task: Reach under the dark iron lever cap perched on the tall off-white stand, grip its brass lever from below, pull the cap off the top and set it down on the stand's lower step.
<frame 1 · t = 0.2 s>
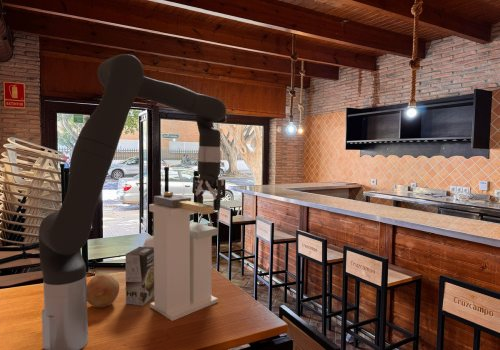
hand: (207, 208, 115), 29 cm above the table, tool pointing down, fingers open, 8 cm apart
onion: (102, 306, 106), on the table
stepped stand: (184, 304, 107), on the table
coffee box: (141, 299, 111), on the table
smoothie: (154, 282, 124), on the table
lever cap: (176, 206, 100), point 32 cm above the table, touching stepped stand
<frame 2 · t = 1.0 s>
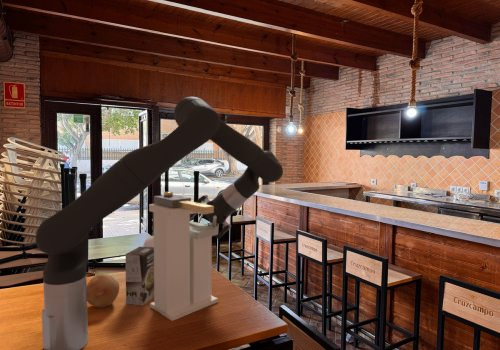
hand: (195, 230, 114), 22 cm above the table, tool tilted 50°, fingers open, 8 cm apart
nothing on the table moved.
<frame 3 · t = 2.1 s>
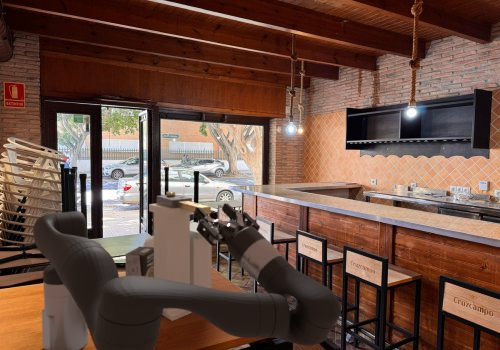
hand: (210, 208, 79), 35 cm above the table, tool pointing upward, fingers open, 8 cm apart
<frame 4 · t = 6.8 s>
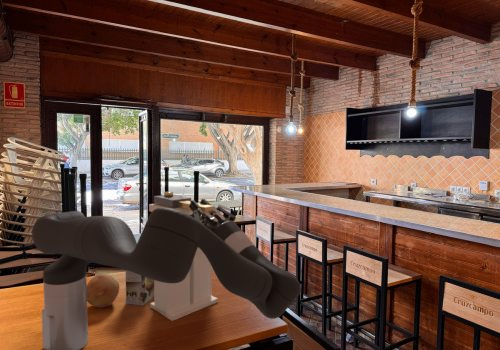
hand: (196, 202, 94), 34 cm above the table, tool pointing upward, fingers closed on lever cap, 3 cm apart
lever cap: (177, 206, 100), point 32 cm above the table, touching gripper, stepped stand
everything else where it was.
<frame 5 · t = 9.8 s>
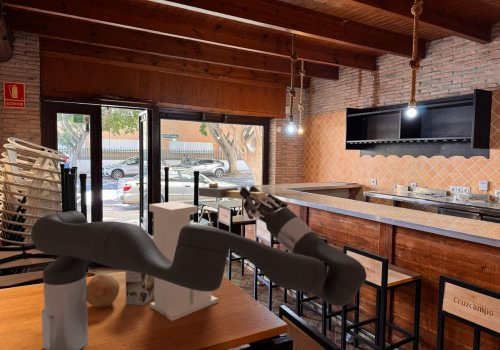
hand: (246, 189, 91), 38 cm above the table, tool pointing upward, fingers closed on lever cap, 3 cm apart
lever cap: (223, 196, 98), point 35 cm above the table, touching gripper
everything else where it was.
when the fingers open (28 cm above the table, at t = 13.0 s): lever cap drops 1 cm, resting on stepped stand.
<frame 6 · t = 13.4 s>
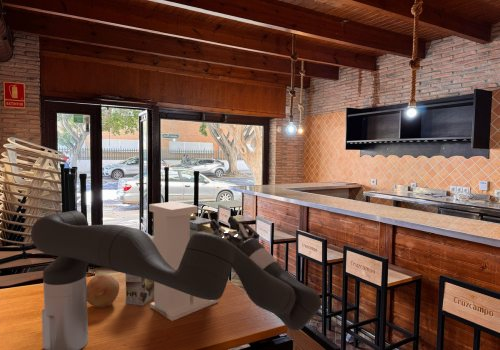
hand: (220, 220, 100), 28 cm above the table, tool pointing upward, fingers open, 6 cm apart
lever cap: (200, 228, 107), point 24 cm above the table, touching stepped stand
everything else where it was.
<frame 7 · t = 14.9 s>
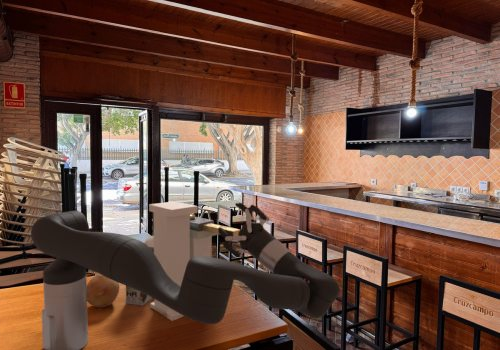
hand: (228, 216, 98), 30 cm above the table, tool pointing upward, fingers open, 8 cm apart
lever cap: (200, 228, 107), point 24 cm above the table
everything else where it was.
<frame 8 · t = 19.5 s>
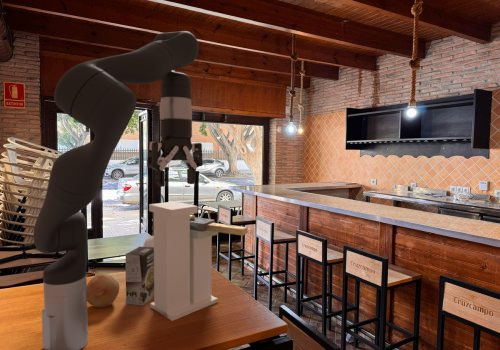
hand: (176, 185, 83), 40 cm above the table, tool pointing down, fingers open, 8 cm apart
lever cap: (202, 228, 107), point 24 cm above the table, touching stepped stand
everything else where it was.
at the end: lever cap inside the target area (1.8 cm from its centre), point 24.0 cm above the table; lever cap tilted 0°; the gripper is holding nothing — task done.
